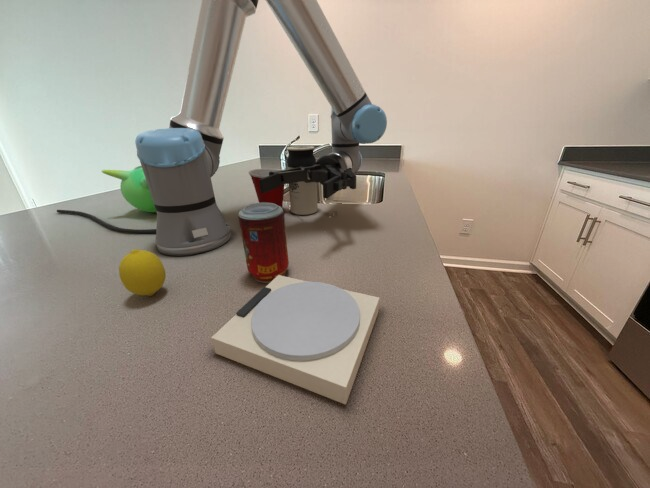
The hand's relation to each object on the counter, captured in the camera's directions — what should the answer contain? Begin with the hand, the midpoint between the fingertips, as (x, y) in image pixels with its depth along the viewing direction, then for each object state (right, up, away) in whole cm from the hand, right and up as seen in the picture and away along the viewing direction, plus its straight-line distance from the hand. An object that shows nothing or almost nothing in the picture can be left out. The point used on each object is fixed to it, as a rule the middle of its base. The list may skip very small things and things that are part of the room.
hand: (291, 188), depth 48 cm
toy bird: (-45, 0, +33) cm, 55 cm away
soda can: (-4, -16, -2) cm, 16 cm away
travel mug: (0, -1, +29) cm, 29 cm away
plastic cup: (-9, -1, +29) cm, 31 cm away
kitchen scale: (+4, -21, -15) cm, 26 cm away
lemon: (-21, -19, -7) cm, 29 cm away
